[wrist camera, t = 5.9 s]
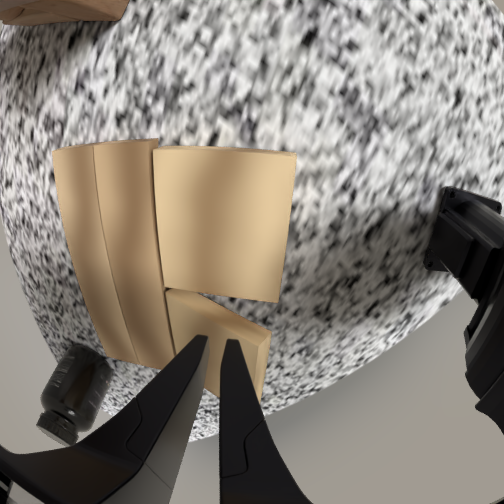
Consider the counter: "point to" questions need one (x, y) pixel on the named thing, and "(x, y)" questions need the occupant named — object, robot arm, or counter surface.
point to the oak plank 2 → (217, 335)
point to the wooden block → (59, 11)
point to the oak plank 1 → (223, 218)
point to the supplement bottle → (74, 394)
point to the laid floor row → (117, 245)
